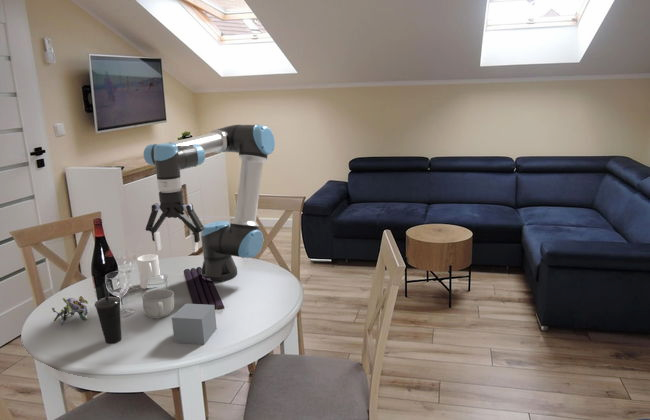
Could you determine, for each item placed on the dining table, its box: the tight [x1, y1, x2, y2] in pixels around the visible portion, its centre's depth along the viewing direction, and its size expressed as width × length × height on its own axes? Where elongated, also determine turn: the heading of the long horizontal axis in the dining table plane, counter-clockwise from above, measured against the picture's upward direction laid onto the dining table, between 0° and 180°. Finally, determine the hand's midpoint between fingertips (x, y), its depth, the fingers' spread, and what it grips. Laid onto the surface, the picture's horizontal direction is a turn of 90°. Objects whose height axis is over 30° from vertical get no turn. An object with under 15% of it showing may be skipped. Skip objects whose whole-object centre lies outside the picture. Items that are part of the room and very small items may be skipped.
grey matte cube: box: [171, 303, 218, 345], centre depth 166 cm, size 10×10×9 cm
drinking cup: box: [94, 282, 122, 345], centre depth 164 cm, size 8×8×20 cm
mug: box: [136, 253, 161, 290], centre depth 207 cm, size 12×8×12 cm
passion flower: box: [51, 295, 89, 326], centre depth 179 cm, size 11×11×12 cm
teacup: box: [141, 288, 175, 319], centre depth 181 cm, size 14×11×8 cm
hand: (177, 250), depth 175 cm, fingers open, 13 cm apart
